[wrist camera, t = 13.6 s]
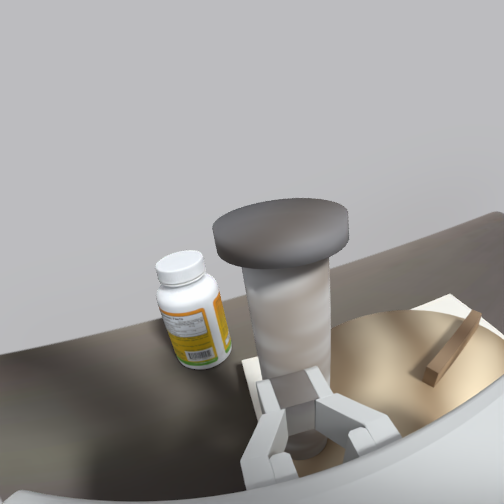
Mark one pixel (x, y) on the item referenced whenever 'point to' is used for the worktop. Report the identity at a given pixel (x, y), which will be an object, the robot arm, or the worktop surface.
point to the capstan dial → (347, 327)
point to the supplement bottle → (192, 310)
